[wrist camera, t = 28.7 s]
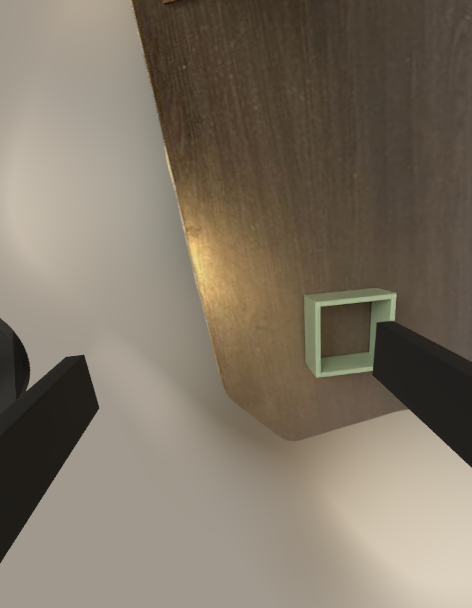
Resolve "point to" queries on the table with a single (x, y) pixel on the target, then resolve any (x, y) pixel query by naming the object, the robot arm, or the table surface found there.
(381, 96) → the table surface
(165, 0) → the trivet
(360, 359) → the holder
